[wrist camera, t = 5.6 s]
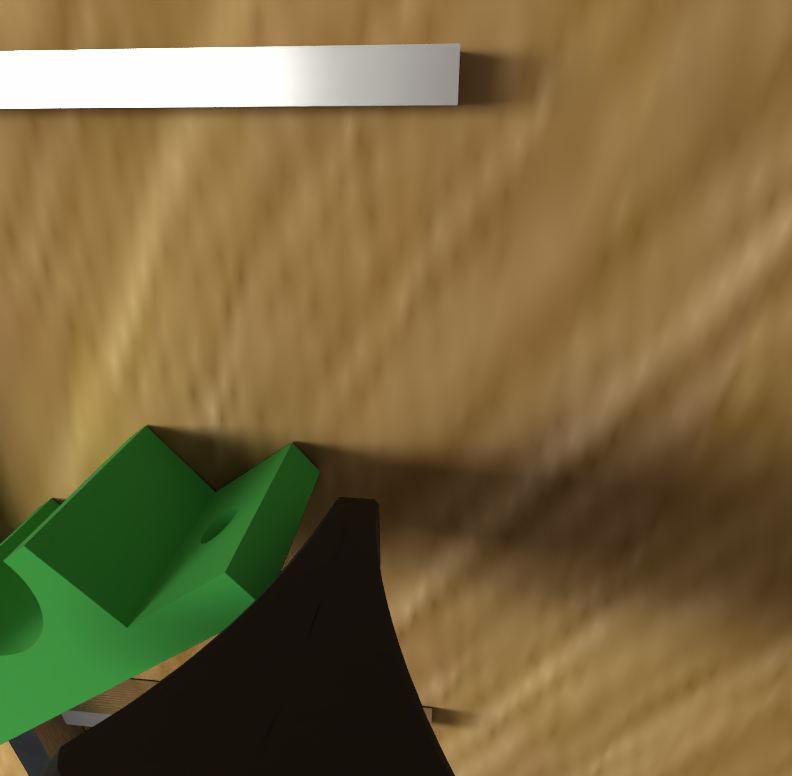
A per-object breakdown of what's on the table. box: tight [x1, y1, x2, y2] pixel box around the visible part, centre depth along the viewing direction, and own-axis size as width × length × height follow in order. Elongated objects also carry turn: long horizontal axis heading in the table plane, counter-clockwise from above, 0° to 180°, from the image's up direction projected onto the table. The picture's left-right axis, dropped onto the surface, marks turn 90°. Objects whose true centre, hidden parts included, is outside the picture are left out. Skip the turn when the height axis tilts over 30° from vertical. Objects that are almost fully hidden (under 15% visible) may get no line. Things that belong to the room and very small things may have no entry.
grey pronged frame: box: [0, 44, 460, 776], centre depth 17 cm, size 14×37×2 cm, turn 0°
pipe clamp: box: [0, 426, 320, 745], centre depth 13 cm, size 10×4×4 cm, turn 128°
